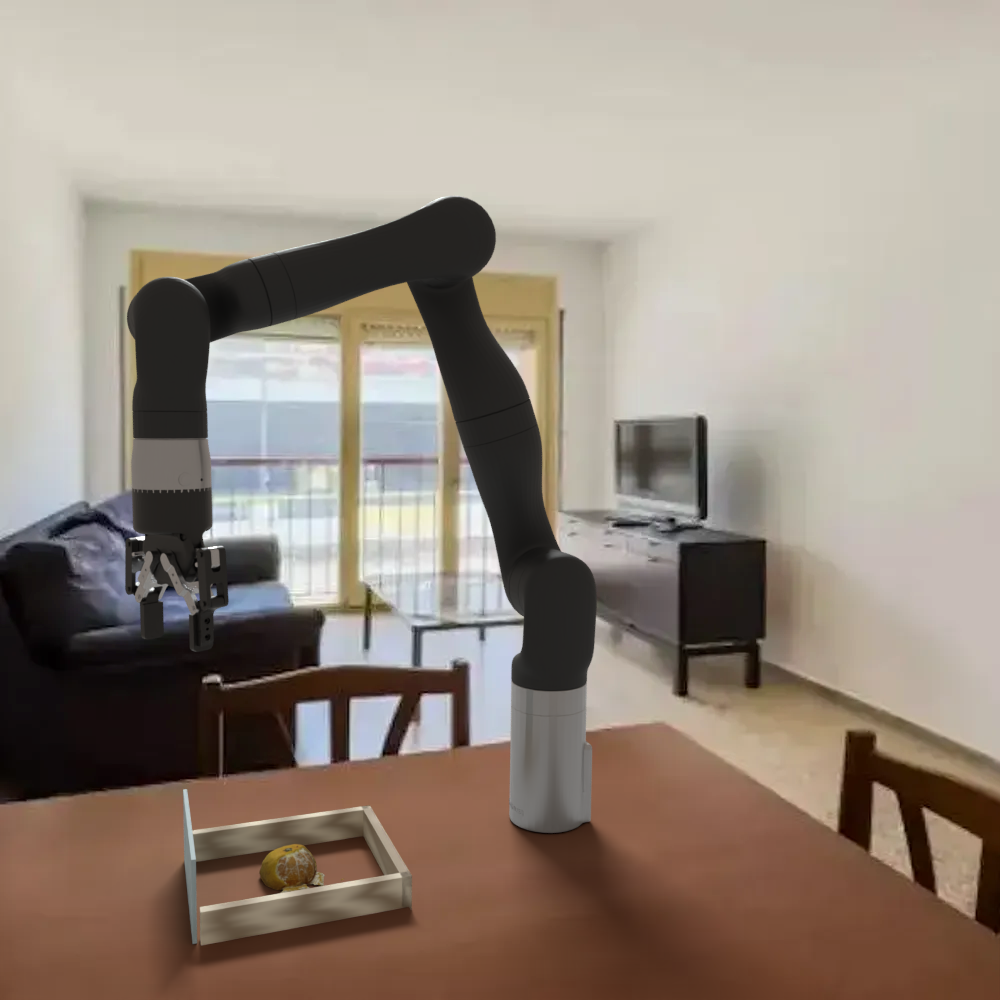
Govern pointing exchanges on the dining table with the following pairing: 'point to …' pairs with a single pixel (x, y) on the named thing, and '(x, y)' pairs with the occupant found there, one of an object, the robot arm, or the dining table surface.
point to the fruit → (290, 869)
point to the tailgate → (190, 866)
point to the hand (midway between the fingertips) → (176, 643)
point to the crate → (304, 903)
